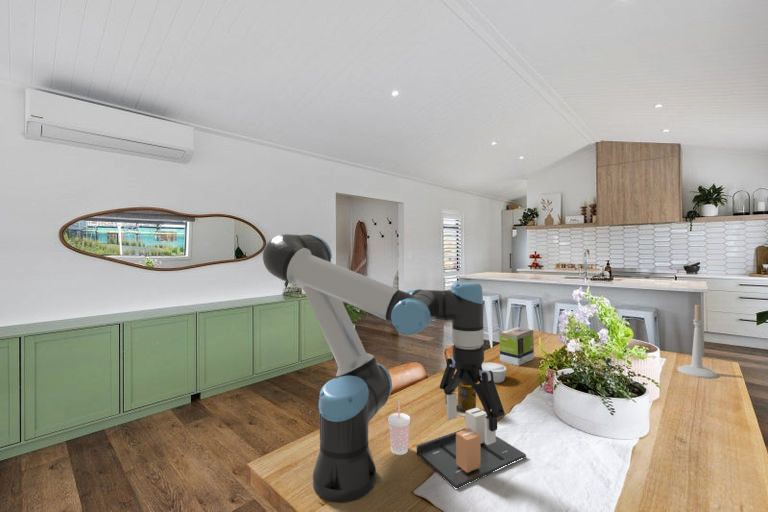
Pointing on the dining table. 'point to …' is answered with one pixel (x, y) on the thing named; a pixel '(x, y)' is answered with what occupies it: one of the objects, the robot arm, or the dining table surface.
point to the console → (444, 458)
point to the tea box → (516, 345)
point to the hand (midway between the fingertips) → (469, 430)
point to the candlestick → (697, 352)
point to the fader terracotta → (468, 450)
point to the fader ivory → (476, 421)
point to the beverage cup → (399, 432)
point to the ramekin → (495, 371)
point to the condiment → (465, 398)
